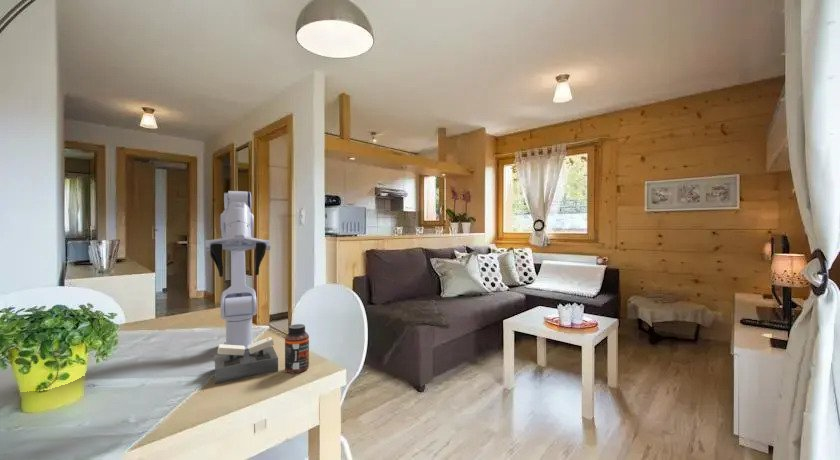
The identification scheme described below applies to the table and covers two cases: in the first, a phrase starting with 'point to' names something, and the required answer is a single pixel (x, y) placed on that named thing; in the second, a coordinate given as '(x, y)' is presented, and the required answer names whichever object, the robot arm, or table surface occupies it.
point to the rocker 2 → (260, 345)
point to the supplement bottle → (296, 349)
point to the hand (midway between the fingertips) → (239, 273)
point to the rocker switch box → (245, 365)
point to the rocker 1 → (231, 349)
